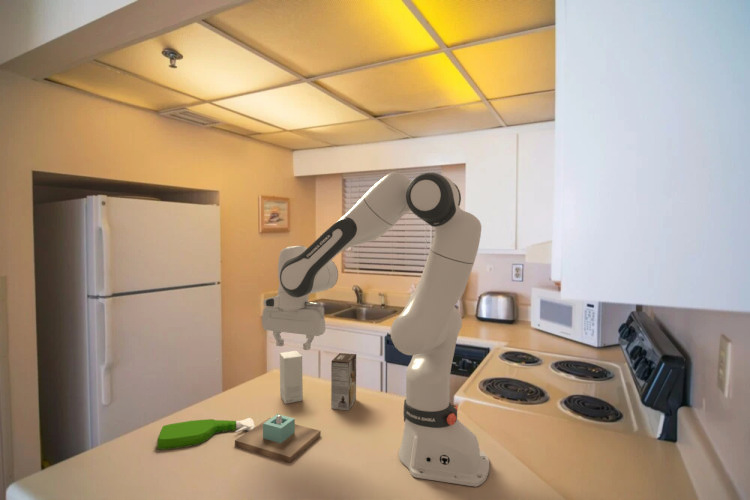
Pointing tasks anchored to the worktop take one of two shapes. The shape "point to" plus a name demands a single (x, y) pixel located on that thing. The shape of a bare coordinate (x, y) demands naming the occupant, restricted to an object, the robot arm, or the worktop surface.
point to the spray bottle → (197, 431)
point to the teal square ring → (278, 429)
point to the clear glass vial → (279, 420)
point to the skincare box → (291, 377)
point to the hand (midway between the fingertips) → (293, 347)
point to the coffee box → (343, 381)
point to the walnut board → (278, 450)
